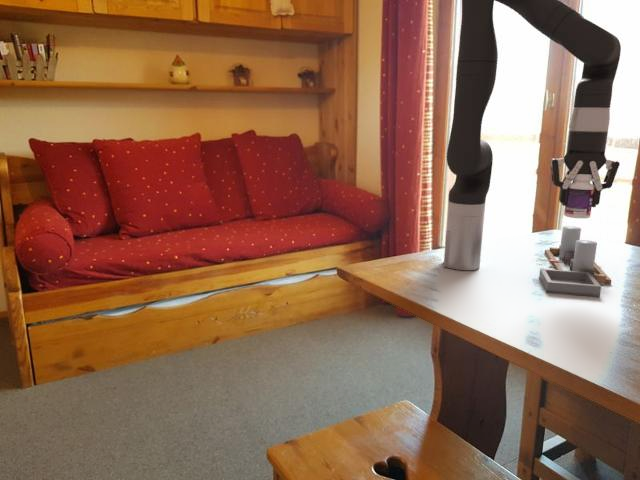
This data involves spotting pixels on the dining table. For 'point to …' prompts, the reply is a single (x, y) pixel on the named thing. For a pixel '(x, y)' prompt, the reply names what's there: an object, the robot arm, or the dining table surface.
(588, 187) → the pill bottle
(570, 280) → the tray
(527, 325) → the dining table surface
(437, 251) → the dining table surface
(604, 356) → the dining table surface
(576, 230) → the fuse
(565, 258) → the brown wooden flat rack
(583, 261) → the block
